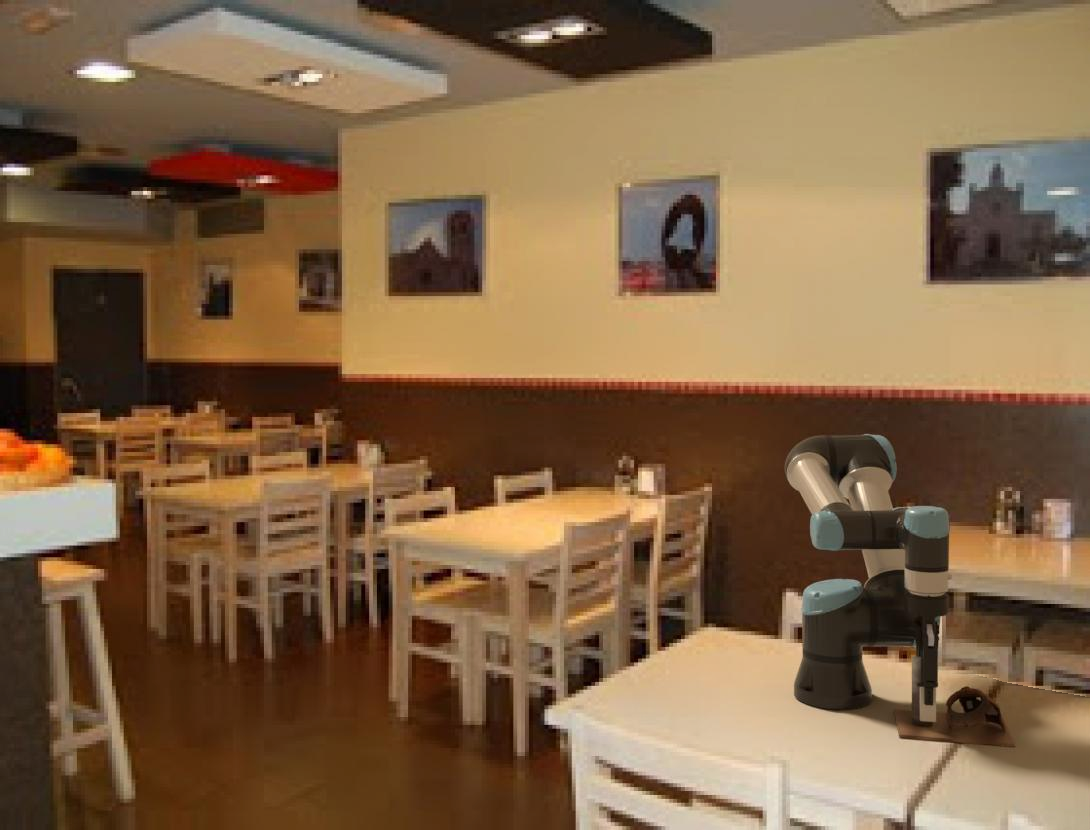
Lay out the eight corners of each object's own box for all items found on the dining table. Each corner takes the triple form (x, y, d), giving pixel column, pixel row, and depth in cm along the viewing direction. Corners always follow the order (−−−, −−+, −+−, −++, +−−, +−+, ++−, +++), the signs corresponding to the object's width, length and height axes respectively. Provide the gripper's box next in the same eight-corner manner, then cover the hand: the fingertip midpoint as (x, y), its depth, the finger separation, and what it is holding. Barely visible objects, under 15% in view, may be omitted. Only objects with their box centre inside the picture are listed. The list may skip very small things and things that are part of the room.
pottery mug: (1017, 741, 171) (1000, 705, 169) (966, 761, 173) (948, 726, 171) (992, 701, 182) (975, 667, 180) (944, 720, 184) (927, 687, 182)
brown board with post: (899, 737, 174) (899, 669, 173) (893, 712, 186) (893, 647, 186) (1014, 747, 169) (1015, 676, 168) (1001, 720, 181) (1001, 653, 181)
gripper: (955, 603, 168) (955, 735, 170) (942, 581, 185) (941, 702, 186) (909, 601, 170) (909, 731, 172) (900, 580, 186) (900, 699, 188)
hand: (926, 716), depth 179 cm, fingers closed on brown board with post, 4 cm apart
